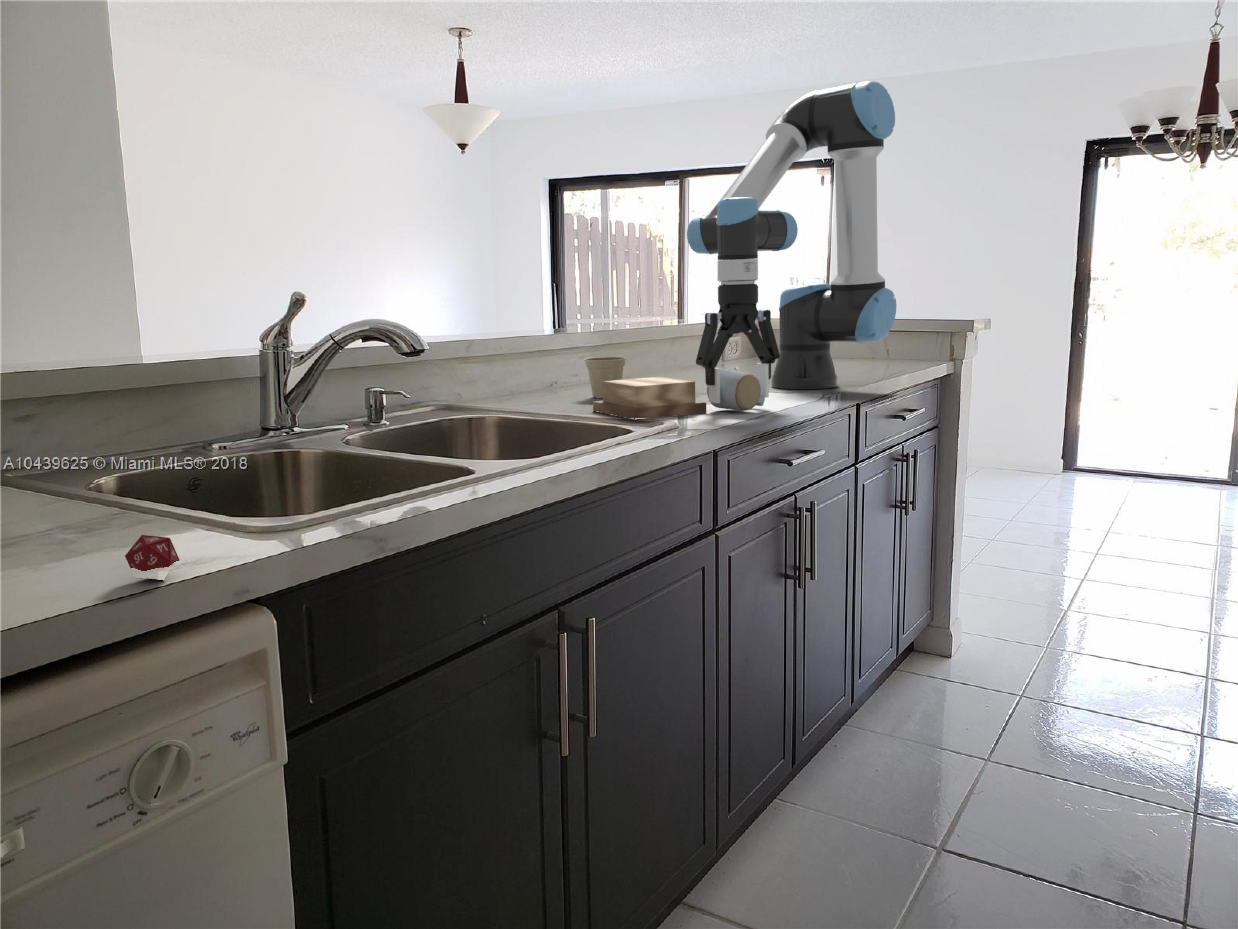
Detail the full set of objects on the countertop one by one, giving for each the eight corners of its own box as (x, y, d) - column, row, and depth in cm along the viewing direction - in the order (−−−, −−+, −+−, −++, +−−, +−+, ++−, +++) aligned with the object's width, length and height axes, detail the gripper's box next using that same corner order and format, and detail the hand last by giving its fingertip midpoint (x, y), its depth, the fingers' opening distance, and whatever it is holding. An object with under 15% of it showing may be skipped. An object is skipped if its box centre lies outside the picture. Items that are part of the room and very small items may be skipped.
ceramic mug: (737, 413, 174) (737, 372, 173) (706, 409, 180) (705, 369, 179) (775, 407, 181) (775, 367, 179) (743, 404, 187) (743, 365, 186)
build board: (661, 404, 193) (661, 395, 193) (706, 412, 179) (706, 402, 179) (593, 411, 185) (592, 401, 185) (634, 420, 172) (634, 409, 171)
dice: (154, 589, 79) (149, 543, 79) (118, 583, 81) (112, 539, 80) (191, 576, 83) (186, 532, 82) (155, 571, 85) (150, 528, 84)
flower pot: (578, 399, 207) (577, 360, 205) (595, 394, 215) (594, 356, 214) (617, 400, 203) (616, 360, 202) (633, 395, 212) (632, 356, 210)
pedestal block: (659, 396, 191) (658, 376, 190) (695, 402, 180) (695, 381, 179) (603, 401, 184) (602, 381, 184) (637, 408, 173) (636, 386, 173)
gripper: (697, 284, 167) (700, 407, 172) (799, 280, 178) (798, 395, 183) (675, 285, 174) (677, 403, 178) (774, 281, 185) (774, 392, 189)
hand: (738, 399), depth 180 cm, fingers closed on ceramic mug, 11 cm apart
